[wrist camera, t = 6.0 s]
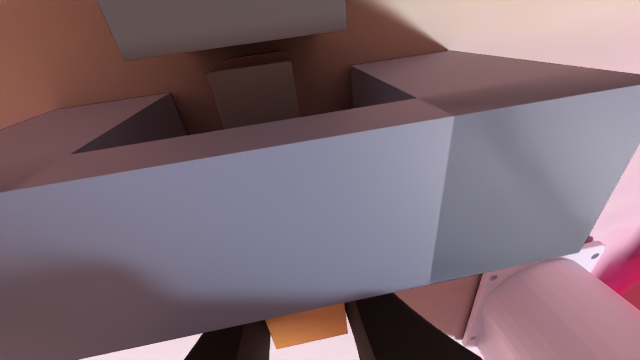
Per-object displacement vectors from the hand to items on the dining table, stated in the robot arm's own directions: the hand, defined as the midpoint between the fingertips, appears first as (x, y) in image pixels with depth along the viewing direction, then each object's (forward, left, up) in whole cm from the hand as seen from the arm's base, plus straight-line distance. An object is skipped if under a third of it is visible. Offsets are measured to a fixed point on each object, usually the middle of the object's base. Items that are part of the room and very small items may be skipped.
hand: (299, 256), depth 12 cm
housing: (+6, 0, -1) cm, 6 cm away
